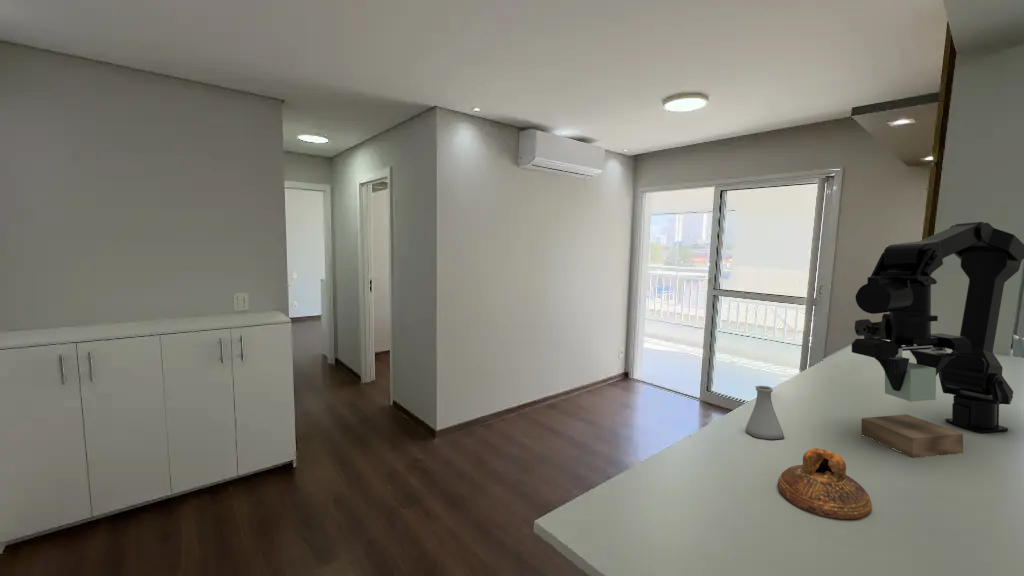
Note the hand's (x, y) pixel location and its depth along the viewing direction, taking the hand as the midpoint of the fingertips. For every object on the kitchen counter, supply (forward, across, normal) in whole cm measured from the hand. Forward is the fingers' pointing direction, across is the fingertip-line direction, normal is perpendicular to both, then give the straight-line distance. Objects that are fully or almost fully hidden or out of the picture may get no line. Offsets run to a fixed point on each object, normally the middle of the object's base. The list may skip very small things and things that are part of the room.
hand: (909, 389), depth 79 cm
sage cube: (+1, 0, 0) cm, 1 cm away
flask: (+11, +23, -9) cm, 27 cm away
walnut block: (+11, 0, 0) cm, 11 cm away
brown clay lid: (+11, +30, +14) cm, 35 cm away
